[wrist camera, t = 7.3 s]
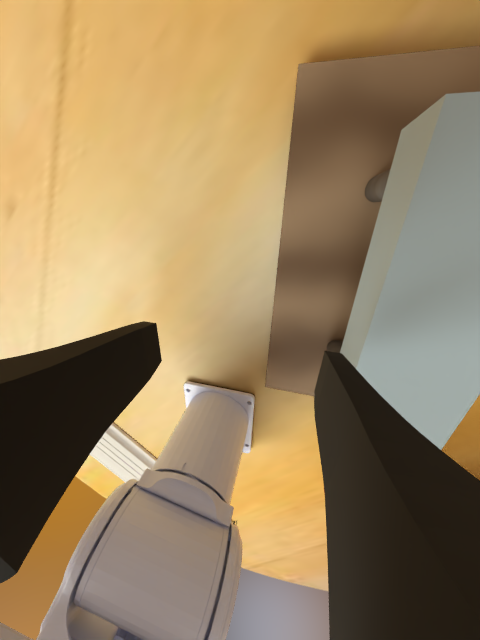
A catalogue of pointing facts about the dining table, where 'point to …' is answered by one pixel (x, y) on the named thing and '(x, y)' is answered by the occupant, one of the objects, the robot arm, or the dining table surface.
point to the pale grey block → (425, 274)
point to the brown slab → (343, 191)
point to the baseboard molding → (123, 455)
